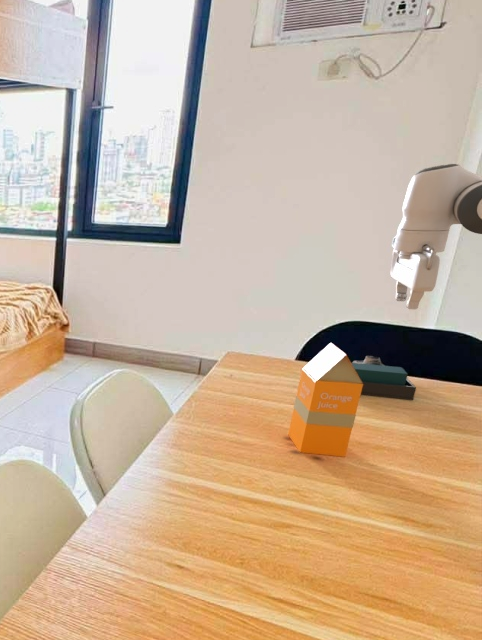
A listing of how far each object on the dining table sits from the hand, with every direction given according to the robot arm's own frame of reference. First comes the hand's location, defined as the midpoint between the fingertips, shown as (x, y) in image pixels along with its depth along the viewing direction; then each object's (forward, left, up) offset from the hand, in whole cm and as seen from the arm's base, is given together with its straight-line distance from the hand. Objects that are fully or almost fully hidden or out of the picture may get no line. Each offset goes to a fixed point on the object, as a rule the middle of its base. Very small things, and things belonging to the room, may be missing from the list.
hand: (405, 304), depth 143 cm
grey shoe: (-1, -17, -22) cm, 27 cm away
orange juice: (+19, +40, -22) cm, 50 cm away
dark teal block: (+3, -2, -21) cm, 21 cm away
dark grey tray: (+3, -2, -22) cm, 22 cm away
